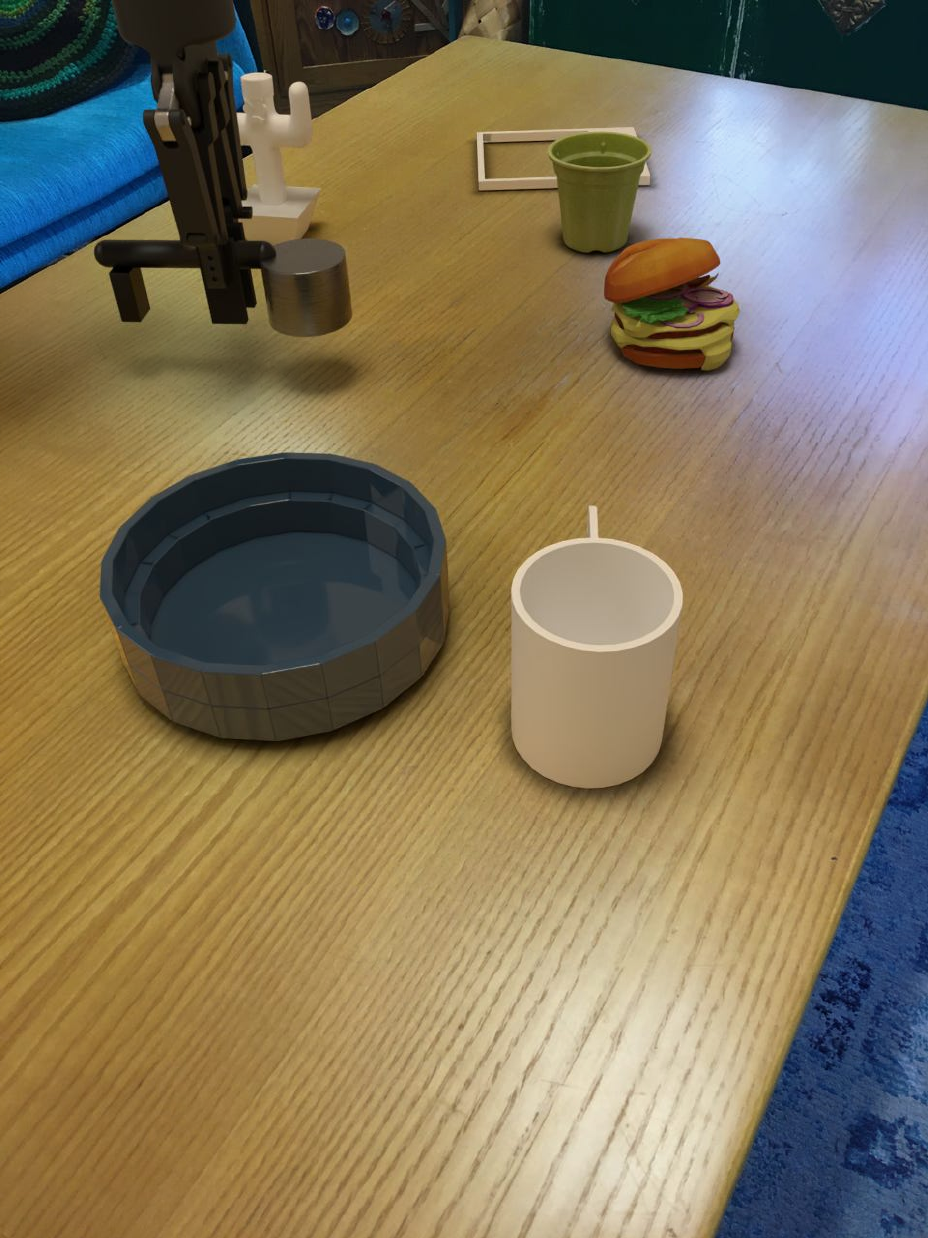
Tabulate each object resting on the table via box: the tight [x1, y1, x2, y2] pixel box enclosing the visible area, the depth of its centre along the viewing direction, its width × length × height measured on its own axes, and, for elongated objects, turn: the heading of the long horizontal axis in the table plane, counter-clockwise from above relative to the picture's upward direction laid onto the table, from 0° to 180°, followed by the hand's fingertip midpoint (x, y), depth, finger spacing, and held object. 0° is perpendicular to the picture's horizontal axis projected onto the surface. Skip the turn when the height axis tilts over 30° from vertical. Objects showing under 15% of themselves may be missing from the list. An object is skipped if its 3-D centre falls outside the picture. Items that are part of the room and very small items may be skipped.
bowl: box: [99, 451, 451, 742], centre depth 63 cm, size 19×19×6 cm
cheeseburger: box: [603, 237, 741, 371], centre depth 85 cm, size 10×11×10 cm
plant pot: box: [547, 132, 652, 254], centre depth 100 cm, size 9×9×9 cm
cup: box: [510, 505, 684, 789], centre depth 56 cm, size 8×12×10 cm
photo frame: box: [476, 126, 651, 191], centre depth 117 cm, size 15×1×18 cm
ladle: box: [93, 237, 353, 338], centre depth 81 cm, size 19×6×6 cm, turn 84°
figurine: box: [237, 72, 322, 246], centre depth 100 cm, size 7×9×15 cm
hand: (234, 312), depth 83 cm, fingers closed on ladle, 2 cm apart
